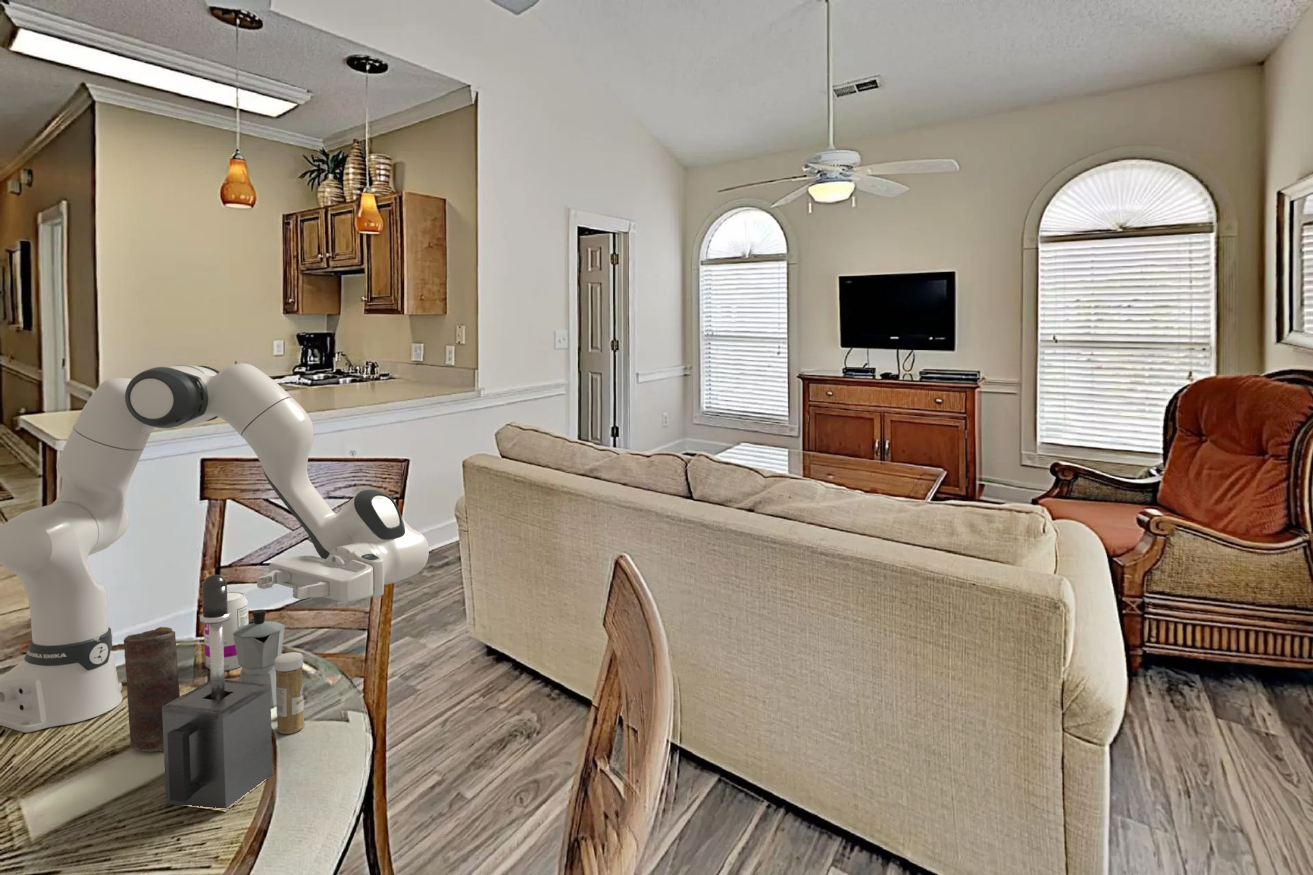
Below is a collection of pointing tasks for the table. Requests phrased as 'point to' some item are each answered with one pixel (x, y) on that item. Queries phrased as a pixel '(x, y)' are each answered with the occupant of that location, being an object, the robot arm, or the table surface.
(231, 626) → the supplement can
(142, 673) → the candle
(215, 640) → the eye dropper
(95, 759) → the table surface
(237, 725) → the press body
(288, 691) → the sprinkles bottle
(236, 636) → the coffee maker
